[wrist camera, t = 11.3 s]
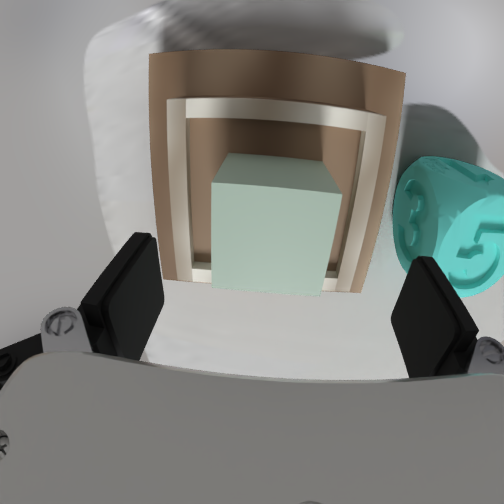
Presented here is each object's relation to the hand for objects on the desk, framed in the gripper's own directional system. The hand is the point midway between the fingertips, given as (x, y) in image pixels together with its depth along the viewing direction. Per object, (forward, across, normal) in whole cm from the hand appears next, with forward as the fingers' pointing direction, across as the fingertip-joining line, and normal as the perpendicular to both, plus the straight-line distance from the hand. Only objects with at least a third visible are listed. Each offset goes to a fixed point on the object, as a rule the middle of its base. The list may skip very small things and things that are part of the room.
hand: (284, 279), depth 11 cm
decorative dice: (+14, -13, +1) cm, 19 cm away
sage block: (+7, +1, 0) cm, 7 cm away
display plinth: (+13, +1, 0) cm, 13 cm away
